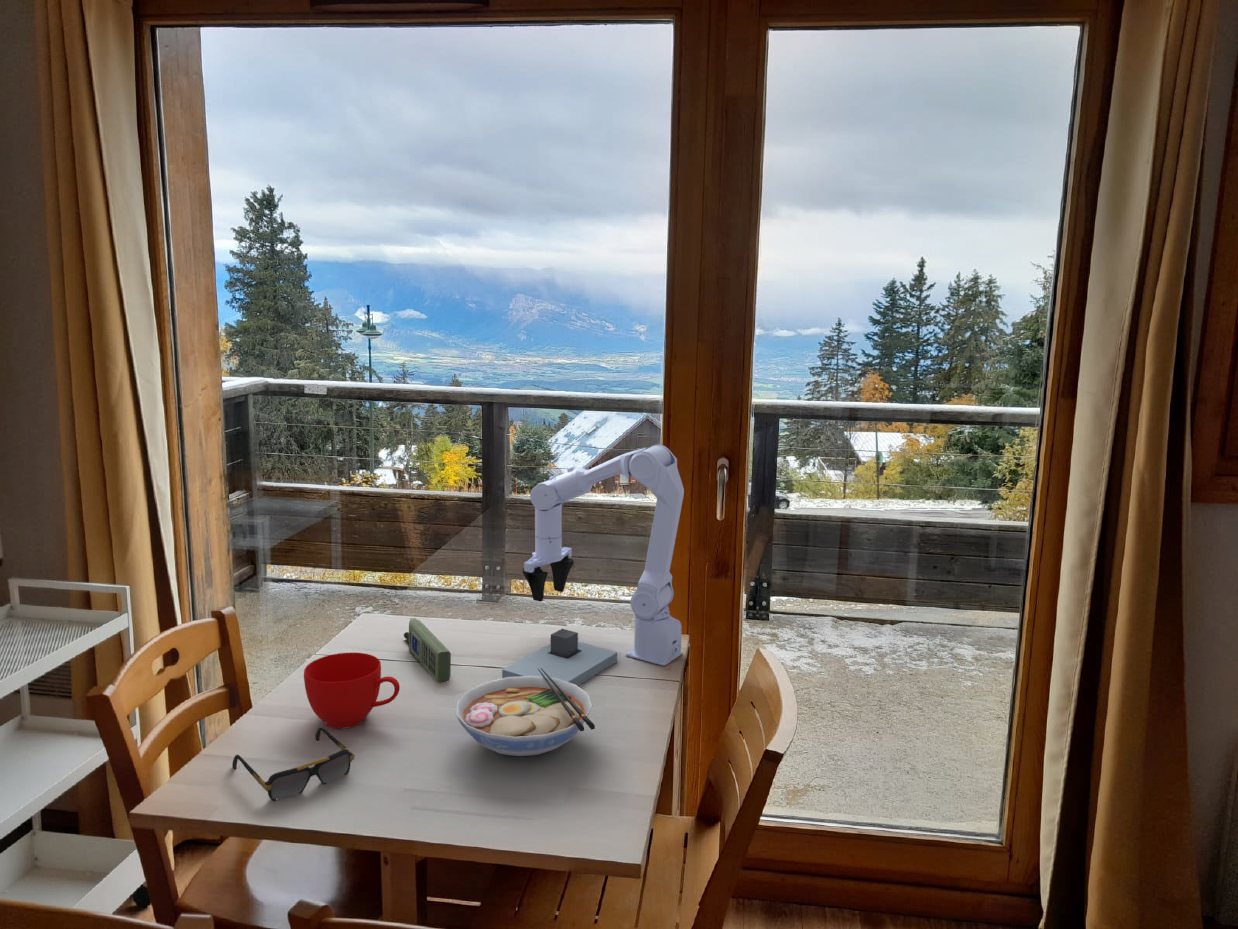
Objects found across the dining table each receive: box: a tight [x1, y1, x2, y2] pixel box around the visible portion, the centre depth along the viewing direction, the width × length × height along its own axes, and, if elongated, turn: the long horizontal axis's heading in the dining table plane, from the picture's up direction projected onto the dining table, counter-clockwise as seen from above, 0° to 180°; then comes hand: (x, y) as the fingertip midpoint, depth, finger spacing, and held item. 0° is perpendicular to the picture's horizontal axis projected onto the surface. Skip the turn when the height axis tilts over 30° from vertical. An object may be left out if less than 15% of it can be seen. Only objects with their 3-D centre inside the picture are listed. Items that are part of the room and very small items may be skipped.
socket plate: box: [501, 641, 618, 687], centre depth 180 cm, size 14×20×2 cm
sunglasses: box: [231, 726, 356, 802], centre depth 141 cm, size 14×15×5 cm
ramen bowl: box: [455, 668, 596, 757], centre depth 150 cm, size 25×23×8 cm
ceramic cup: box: [303, 651, 401, 729], centre depth 157 cm, size 13×17×10 cm
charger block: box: [550, 628, 579, 659], centre depth 185 cm, size 4×4×6 cm
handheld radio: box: [403, 617, 452, 684], centre depth 184 cm, size 7×3×25 cm
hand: (548, 595), depth 197 cm, fingers open, 7 cm apart
